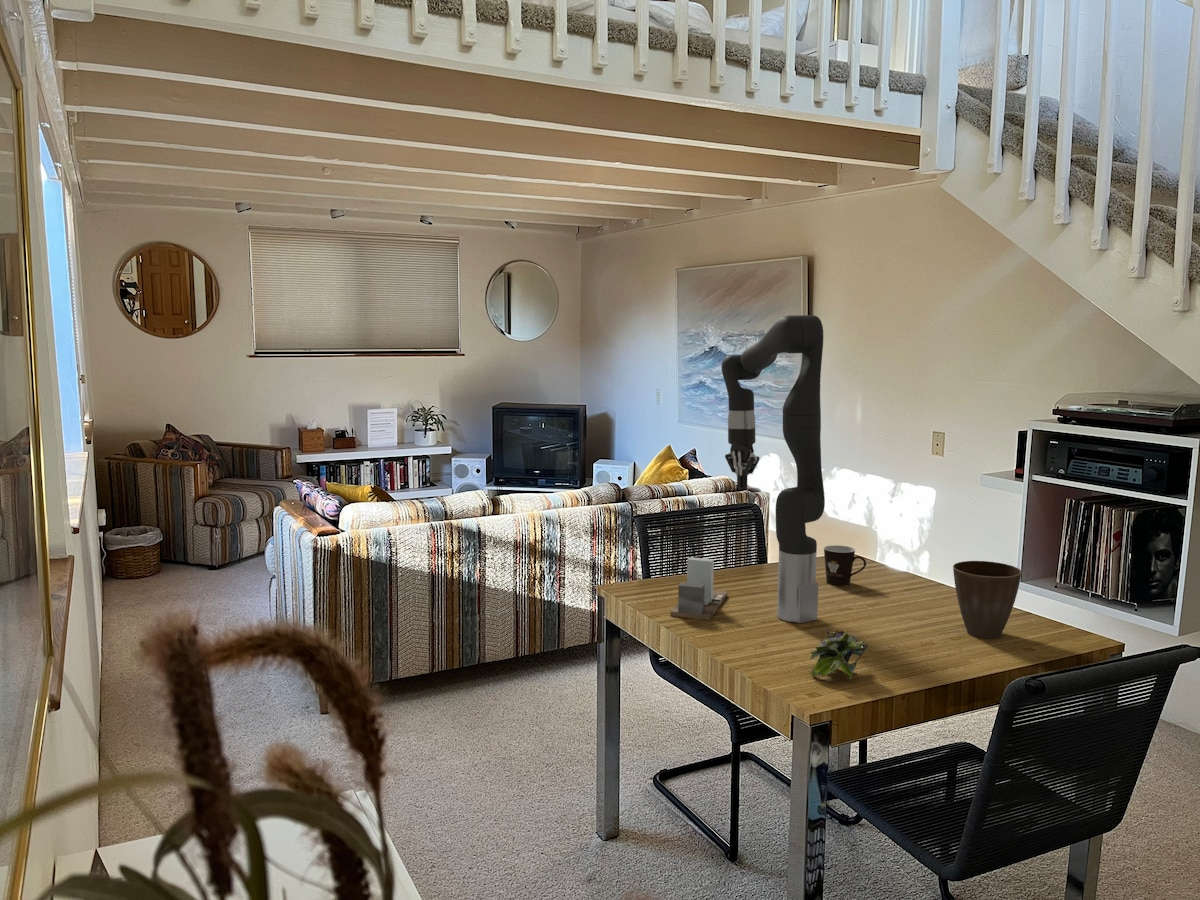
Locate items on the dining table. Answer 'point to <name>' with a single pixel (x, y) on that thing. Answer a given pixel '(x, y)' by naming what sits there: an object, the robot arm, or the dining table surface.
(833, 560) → the coffee mug
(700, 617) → the board
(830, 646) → the passion flower
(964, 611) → the plant pot
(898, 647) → the dining table surface
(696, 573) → the panel
